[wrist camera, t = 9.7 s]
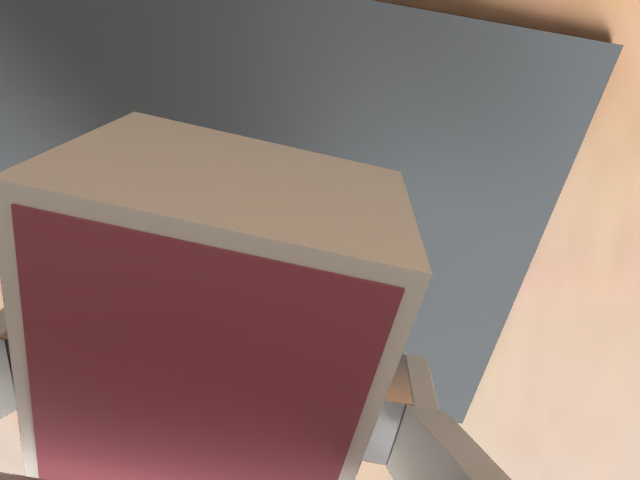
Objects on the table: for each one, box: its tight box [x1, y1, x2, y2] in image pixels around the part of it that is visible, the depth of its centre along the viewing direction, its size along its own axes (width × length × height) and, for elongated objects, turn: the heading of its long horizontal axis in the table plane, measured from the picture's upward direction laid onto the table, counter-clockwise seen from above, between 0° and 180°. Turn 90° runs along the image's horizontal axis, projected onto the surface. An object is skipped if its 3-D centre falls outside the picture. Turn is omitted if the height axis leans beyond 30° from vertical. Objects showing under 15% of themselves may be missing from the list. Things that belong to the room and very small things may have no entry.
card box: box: [0, 112, 432, 480], centre depth 10 cm, size 9×6×4 cm, turn 168°
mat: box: [0, 0, 623, 423], centre depth 17 cm, size 20×16×1 cm
